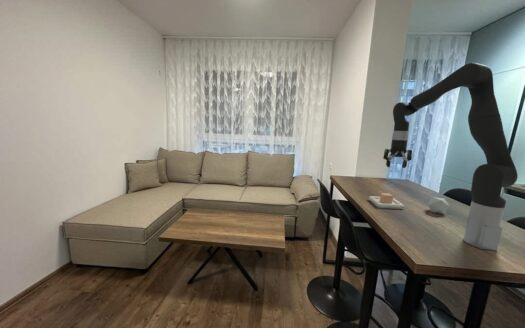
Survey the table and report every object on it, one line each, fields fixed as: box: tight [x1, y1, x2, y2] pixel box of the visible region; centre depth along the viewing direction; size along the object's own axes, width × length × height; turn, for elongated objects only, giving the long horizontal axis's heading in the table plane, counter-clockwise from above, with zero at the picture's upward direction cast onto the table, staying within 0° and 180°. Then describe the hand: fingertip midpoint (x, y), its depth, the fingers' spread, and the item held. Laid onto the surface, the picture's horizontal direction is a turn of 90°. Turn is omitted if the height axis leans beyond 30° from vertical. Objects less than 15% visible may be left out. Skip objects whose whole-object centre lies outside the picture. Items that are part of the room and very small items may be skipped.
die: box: [426, 196, 450, 215], centre depth 121 cm, size 8×9×10 cm
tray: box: [368, 195, 405, 210], centre depth 132 cm, size 14×14×2 cm
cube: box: [379, 192, 394, 204], centre depth 131 cm, size 5×5×5 cm
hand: (395, 167), depth 126 cm, fingers open, 8 cm apart
